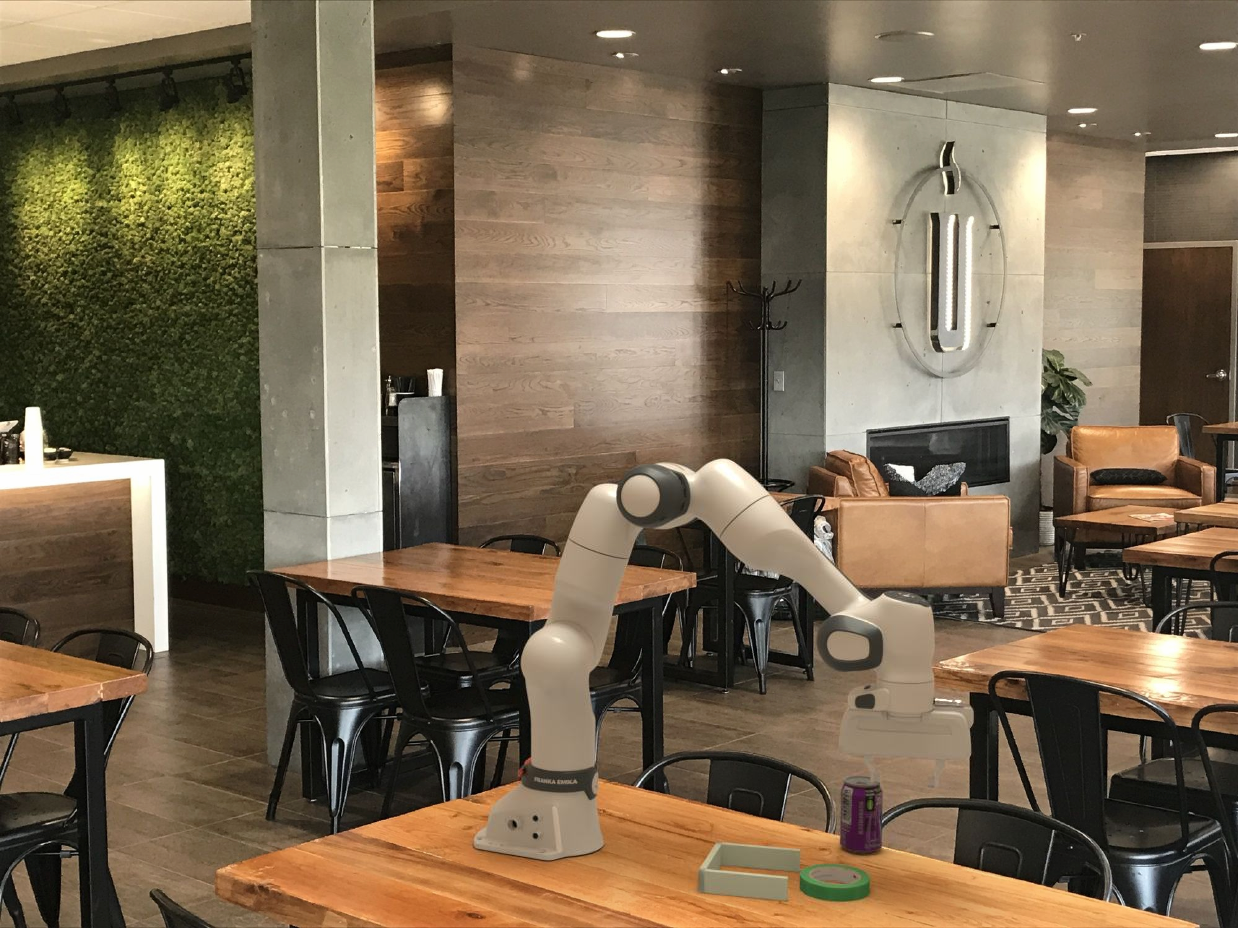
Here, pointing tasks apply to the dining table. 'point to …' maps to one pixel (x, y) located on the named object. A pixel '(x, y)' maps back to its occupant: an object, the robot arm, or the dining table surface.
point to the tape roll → (818, 889)
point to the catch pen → (748, 882)
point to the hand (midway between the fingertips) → (904, 784)
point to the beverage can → (861, 815)
